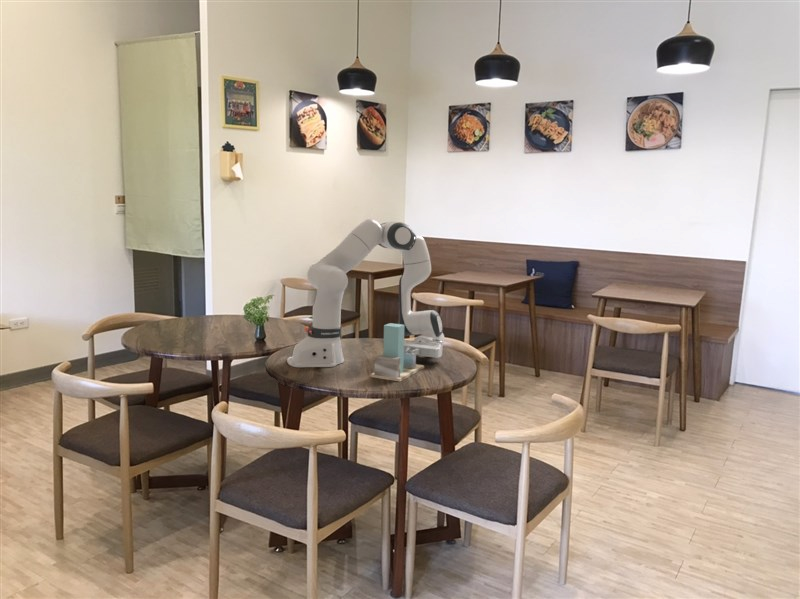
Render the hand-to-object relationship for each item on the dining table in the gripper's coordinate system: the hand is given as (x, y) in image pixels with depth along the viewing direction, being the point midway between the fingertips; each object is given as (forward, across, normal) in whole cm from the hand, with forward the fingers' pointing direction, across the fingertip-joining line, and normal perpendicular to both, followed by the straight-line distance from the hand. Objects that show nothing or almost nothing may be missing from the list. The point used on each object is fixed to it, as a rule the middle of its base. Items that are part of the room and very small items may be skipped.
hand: (408, 353), depth 251 cm
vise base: (+10, 0, +6) cm, 11 cm away
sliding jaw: (+5, 0, +4) cm, 7 cm away
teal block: (+14, 0, +4) cm, 15 cm away
